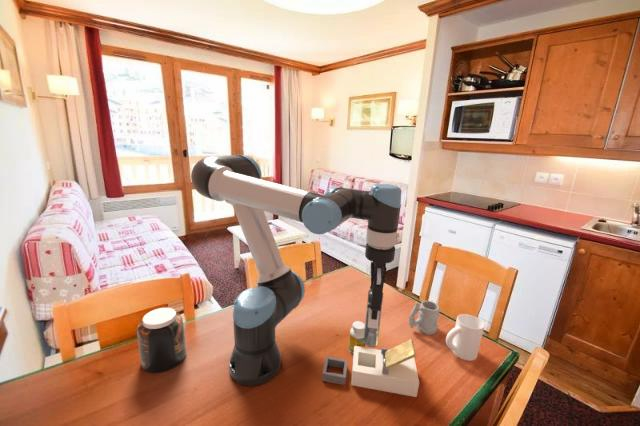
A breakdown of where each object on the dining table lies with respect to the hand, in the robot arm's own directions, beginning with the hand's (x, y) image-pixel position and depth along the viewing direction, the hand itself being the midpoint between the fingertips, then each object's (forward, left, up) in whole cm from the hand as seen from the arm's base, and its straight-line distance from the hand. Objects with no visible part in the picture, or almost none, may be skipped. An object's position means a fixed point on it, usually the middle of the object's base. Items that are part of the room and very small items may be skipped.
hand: (372, 321), depth 79 cm
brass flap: (+9, 0, -10) cm, 13 cm away
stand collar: (-9, -2, -18) cm, 20 cm away
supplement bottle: (-3, +9, -18) cm, 21 cm away
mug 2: (+31, +16, -18) cm, 39 cm away
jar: (-61, -7, -18) cm, 64 cm away
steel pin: (0, 0, -7) cm, 7 cm away
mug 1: (+20, +26, -18) cm, 37 cm away
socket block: (+5, 0, -18) cm, 19 cm away
